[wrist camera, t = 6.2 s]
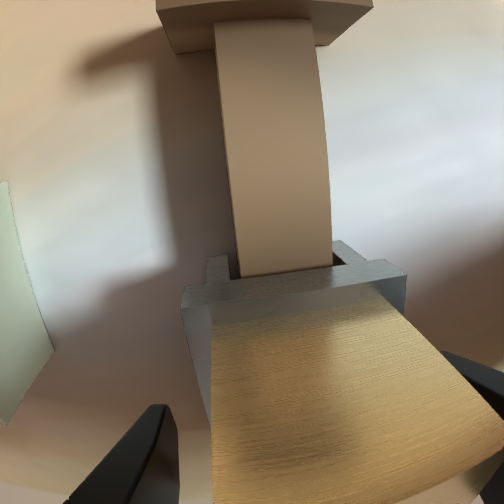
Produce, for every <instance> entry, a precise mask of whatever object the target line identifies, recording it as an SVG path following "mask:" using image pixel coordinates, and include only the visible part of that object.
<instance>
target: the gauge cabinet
mask: <svg viewBox="0 0 504 504" xmlns="http://www.w3.org/2000/svg"><path fill="white" fill-rule="evenodd" d="M54 351H55V350H54V348H53V346H52V343H51V341H50V338H49V336H48V333H47V330H46V328H45V325H44V322H43V320H42V317H41V314H40V311H39V309H38V306H37V303H36V300H35V297H34V294H33V290H32V287H31V284H30V281H29V277H28V274H27V270H26V267H25V263H24V260H23V256H22V252H21V248H20V244H19V240H18V235H17V231H16V226H15V221H14V216H13V211H12V206H11V200H10V194H9V188H8V181H4V182H0V424H1V425H6V426H7V424H8V422H9V421H10V419H11V417H12V416H13V414H14V412H15V411H16V409H17V407H18V406H19V404H20V403H21V401H22V399H23V398H24V396H25V395H26V393H27V391H28V390H29V388H30V387H31V385H32V384H33V382H34V380H35V379H36V377H37V376H38V374H39V373H40V371H41V370H42V368H43V367H44V365H45V364H46V362H47V361H48V360H49V358H50V357H51V355H52V354H53V352H54Z"/></svg>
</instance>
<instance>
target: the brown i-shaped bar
mask: <svg viewBox="0 0 504 504" xmlns="http://www.w3.org/2000/svg"><path fill="white" fill-rule="evenodd" d="M373 7H374V6H373V2H372V0H156V12H157V14H158V16H159V18H160V21H161V23H162V25H163V27H164V30H165V32H166V34H167V36H168V39H169V41H170V43H171V46H172V48H173V50H174V52H175V54H180V53H187V52H194V51H202V50H210V49H215V58H216V69H217V79H218V89H219V98H220V108H221V118H222V127H223V136H224V146H225V155H226V164H227V173H228V182H229V191H230V200H231V208H232V217H233V226H234V234H235V242H236V251H237V259H238V267H239V276H240V279H246V278H253V277H261V276H269V275H276V274H283V273H291V272H298V271H305V270H312V269H319V268H326V267H333V259H332V225H331V203H330V185H329V170H328V156H327V144H326V133H325V122H324V113H323V103H322V94H321V86H320V78H319V70H318V63H317V56H316V49H315V45H326V46H329V45H330V44H331V43H332V42H333V41H334V40H335V39H336V38H338V37H339V36H340V35H341V34H342V33H343V32H345V31H346V30H347V29H348V28H349V27H350V26H352V25H353V24H354V23H355V22H356V21H357V20H359V19H360V18H361V17H362V16H363V15H365V14H366V13H367V12H368V11H370V10H371V9H372V8H373Z"/></svg>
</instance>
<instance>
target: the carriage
mask: <svg viewBox="0 0 504 504" xmlns="http://www.w3.org/2000/svg"><path fill="white" fill-rule="evenodd" d="M332 259H333V267H326V268H319V269H312V270H305V271H298V272H291V273H283V274H276V275H269V276H261V277H253V278H246V279H238V280H231V279H230V272H229V264H228V257H227V255H219V256H211V257H208V258H207V269H206V280H205V284H198V285H190V286H185V289H184V293H183V298H182V302H181V307H180V310H181V315H182V319H183V324H184V328H185V333H186V337H187V341H188V346H189V350H190V354H191V358H192V362H193V366H194V370H195V374H196V378H197V382H198V386H199V389H200V393H201V397H202V401H203V404H204V408H205V411H206V415H207V419H208V422H209V425H210V429H211V444H212V487H213V504H471V503H472V502H473V500H474V499H475V498H476V497H477V495H478V494H479V493H480V492H481V491H482V489H483V488H484V487H485V486H486V484H487V483H488V482H489V480H490V479H491V478H492V476H493V475H494V474H495V472H496V471H497V470H498V468H499V467H500V465H501V464H502V462H503V461H504V421H503V420H502V418H501V417H500V416H499V415H498V414H497V413H496V412H495V411H494V409H493V408H492V407H491V406H490V405H489V404H488V403H487V402H486V401H485V400H484V399H483V397H482V396H481V395H480V394H479V393H478V392H477V391H476V390H475V389H474V388H473V387H472V386H471V385H470V383H469V382H468V381H467V380H466V379H465V378H464V377H463V376H462V375H461V374H460V373H459V372H458V371H457V370H456V369H455V368H454V367H453V366H452V365H451V364H450V363H449V362H448V361H447V359H446V358H445V357H444V356H443V355H442V354H441V353H440V352H439V351H438V350H437V349H436V348H435V347H434V346H433V345H432V344H431V343H430V342H429V341H428V340H427V339H426V338H425V337H424V336H423V335H422V334H421V333H420V332H419V331H418V330H417V329H416V328H415V327H414V326H413V325H412V324H411V323H410V322H408V321H407V320H406V319H405V318H404V317H403V310H404V301H405V291H406V280H407V274H405V273H404V272H403V271H401V270H400V269H398V268H397V267H396V266H394V265H393V264H391V263H390V262H388V261H387V260H386V259H379V260H373V261H367V260H366V259H364V258H363V257H362V256H361V255H359V254H358V253H357V252H355V251H354V250H353V249H352V248H350V247H349V246H348V245H346V244H345V243H344V242H342V241H341V240H338V241H332Z"/></svg>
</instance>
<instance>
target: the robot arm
mask: <svg viewBox="0 0 504 504" xmlns="http://www.w3.org/2000/svg"><path fill="white" fill-rule="evenodd" d="M440 353H441V354H442V355H443V356H444V357H445V358H446V359H447V361H448V362H449V363H450V364H451V365H452V366H453V367H454V368H455V369H456V370H457V371H458V372H459V373H460V374H461V375H462V376H463V377H464V378H465V379H466V380H467V381H468V382H469V383H470V385H471V386H472V387H473V388H474V389H475V390H476V391H477V392H478V393H479V394H480V395H481V396H482V397H483V399H484V400H485V401H486V402H487V403H488V404H489V405H490V406H491V407H492V408H493V409H494V411H495V412H496V413H497V414H498V415H499V416H500V417H501V418H502V420H503V421H504V372H501V371H498V370H495V369H492V368H490V367H487V366H484V365H481V364H478V363H476V362H473V361H470V360H467V359H465V358H462V357H459V356H456V355H454V354H451V353H448V352H445V351H441V352H440ZM179 489H180V481H179V456H178V432H177V427H176V424H175V421H174V419H173V416H172V413H171V411H170V408H169V406H168V405H166V404H154V405H151V406H149V407H148V408H147V410H146V411H145V412H144V413H143V414H142V415H141V417H140V418H139V419H138V420H137V421H136V422H135V423H134V425H133V426H132V427H131V428H130V429H129V430H128V431H127V433H126V434H125V435H124V436H123V437H122V438H121V439H120V441H119V442H118V443H117V444H116V445H115V446H114V447H113V448H112V450H111V451H110V452H109V453H108V454H107V455H106V456H105V457H104V459H103V460H102V461H101V462H100V463H99V464H98V465H97V466H96V468H95V469H94V470H93V471H92V472H91V473H90V474H89V475H88V476H87V478H86V479H85V480H84V481H83V482H82V483H81V484H80V485H79V486H78V488H77V489H76V490H75V491H74V492H73V493H72V494H71V495H70V496H69V500H66V501H65V502H64V503H63V504H178V503H179ZM479 494H480V496H481V498H482V500H483V502H484V504H504V461H503V462H502V464H501V465H500V467H499V468H498V470H497V471H496V472H495V474H494V475H493V476H492V478H491V479H490V480H489V482H488V483H487V484H486V486H485V487H484V488H483V489H482V491H481V492H480V493H479Z"/></svg>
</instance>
